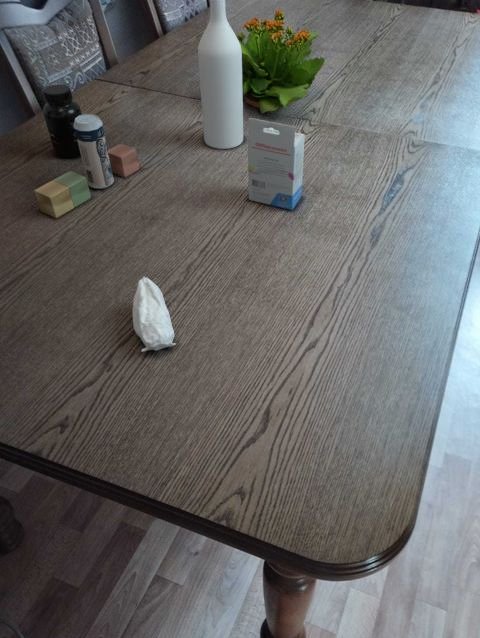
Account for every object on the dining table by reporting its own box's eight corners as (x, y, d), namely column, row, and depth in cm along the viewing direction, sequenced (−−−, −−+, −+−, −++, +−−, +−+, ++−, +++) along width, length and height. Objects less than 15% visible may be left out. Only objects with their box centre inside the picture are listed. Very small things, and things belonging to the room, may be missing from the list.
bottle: (232, 152, 109) (226, -26, 88) (197, 144, 112) (182, -32, 90) (250, 135, 114) (248, -37, 93) (215, 128, 117) (206, -42, 95)
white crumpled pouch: (126, 322, 77) (141, 357, 69) (125, 277, 74) (140, 308, 66) (161, 318, 79) (179, 352, 71) (161, 274, 76) (180, 304, 68)
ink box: (302, 197, 98) (307, 114, 87) (292, 211, 95) (296, 127, 84) (259, 187, 100) (259, 105, 90) (247, 200, 97) (246, 117, 87)
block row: (40, 211, 94) (33, 190, 91) (124, 163, 106) (120, 143, 103) (56, 218, 93) (50, 197, 90) (139, 169, 105) (136, 149, 102)
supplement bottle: (47, 155, 108) (29, 93, 99) (66, 140, 112) (50, 79, 104) (77, 161, 106) (62, 98, 98) (96, 146, 111) (82, 84, 102)
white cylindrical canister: (115, 188, 100) (102, 123, 91) (88, 192, 99) (72, 126, 90) (113, 175, 103) (100, 111, 94) (87, 179, 102) (71, 114, 93)
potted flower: (193, 111, 122) (186, 24, 110) (229, 74, 138) (226, -7, 125) (302, 127, 117) (308, 37, 105) (326, 86, 133) (334, 3, 120)
